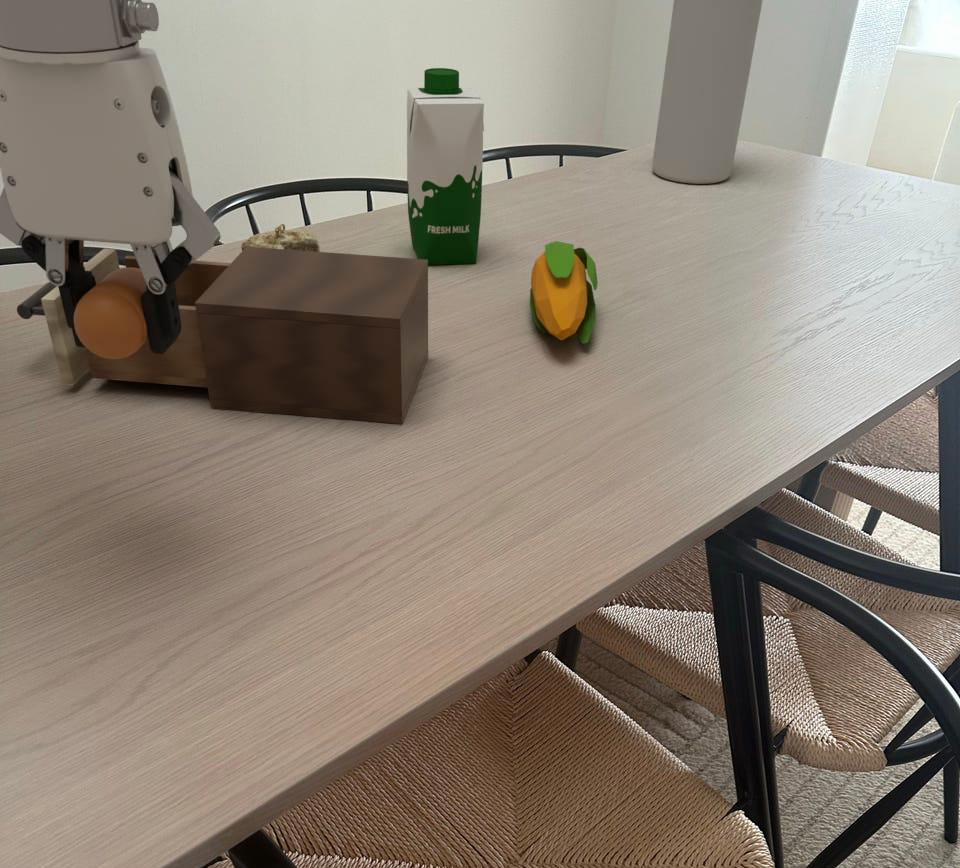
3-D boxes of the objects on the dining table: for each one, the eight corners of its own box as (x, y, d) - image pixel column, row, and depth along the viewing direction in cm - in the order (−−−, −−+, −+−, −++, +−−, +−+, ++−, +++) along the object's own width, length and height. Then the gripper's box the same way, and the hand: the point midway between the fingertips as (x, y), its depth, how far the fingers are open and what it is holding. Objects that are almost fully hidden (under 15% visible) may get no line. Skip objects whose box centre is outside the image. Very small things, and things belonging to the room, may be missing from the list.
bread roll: (137, 373, 62) (123, 305, 60) (70, 367, 63) (53, 299, 60) (182, 324, 69) (171, 260, 66) (121, 319, 69) (108, 255, 66)
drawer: (11, 379, 92) (-14, 294, 87) (74, 322, 102) (56, 244, 97) (237, 397, 90) (225, 313, 85) (277, 338, 100) (269, 260, 95)
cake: (226, 279, 117) (217, 231, 114) (274, 256, 124) (267, 210, 121) (296, 288, 113) (289, 239, 110) (342, 263, 120) (336, 216, 117)
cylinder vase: (635, 171, 157) (658, -16, 141) (684, 159, 164) (711, -21, 148) (698, 190, 150) (729, -5, 134) (746, 176, 157) (781, -11, 141)
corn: (595, 225, 110) (607, 290, 95) (592, 293, 115) (604, 365, 100) (528, 227, 111) (530, 292, 95) (529, 294, 116) (530, 367, 100)
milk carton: (470, 242, 128) (475, 67, 116) (485, 266, 122) (491, 83, 109) (403, 244, 127) (400, 67, 114) (414, 269, 120) (412, 83, 107)
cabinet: (210, 408, 90) (194, 302, 84) (257, 343, 102) (246, 246, 95) (402, 424, 89) (400, 318, 83) (428, 357, 100) (428, 259, 94)
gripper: (235, 21, 56) (268, 331, 68) (-47, 3, 57) (33, 311, 69) (189, 43, 50) (233, 378, 62) (-123, 22, 52) (-22, 355, 63)
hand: (127, 339), depth 65 cm, fingers closed on bread roll, 4 cm apart
